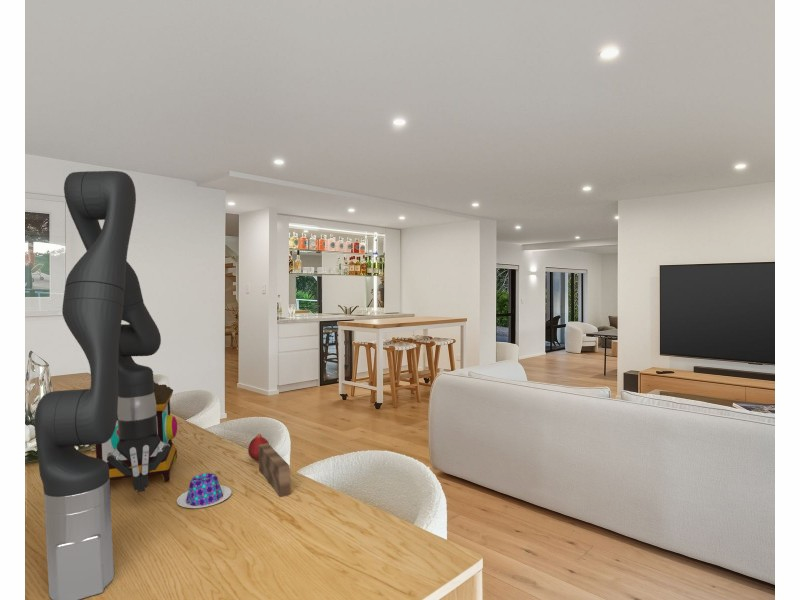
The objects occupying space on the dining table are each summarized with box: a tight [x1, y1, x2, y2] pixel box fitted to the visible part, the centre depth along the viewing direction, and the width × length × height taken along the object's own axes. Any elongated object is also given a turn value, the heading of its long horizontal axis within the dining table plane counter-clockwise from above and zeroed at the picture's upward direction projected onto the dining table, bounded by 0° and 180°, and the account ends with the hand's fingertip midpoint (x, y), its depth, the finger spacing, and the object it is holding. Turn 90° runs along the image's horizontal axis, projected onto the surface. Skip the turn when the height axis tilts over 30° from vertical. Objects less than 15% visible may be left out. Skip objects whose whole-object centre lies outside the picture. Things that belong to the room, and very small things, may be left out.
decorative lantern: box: [92, 381, 178, 484], centre depth 128 cm, size 20×20×30 cm
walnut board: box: [258, 442, 291, 498], centre depth 123 cm, size 19×2×7 cm, turn 30°
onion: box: [247, 433, 270, 462], centre depth 137 cm, size 6×6×8 cm
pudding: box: [176, 472, 232, 509], centre depth 115 cm, size 12×12×5 cm
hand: (141, 490), depth 108 cm, fingers closed
